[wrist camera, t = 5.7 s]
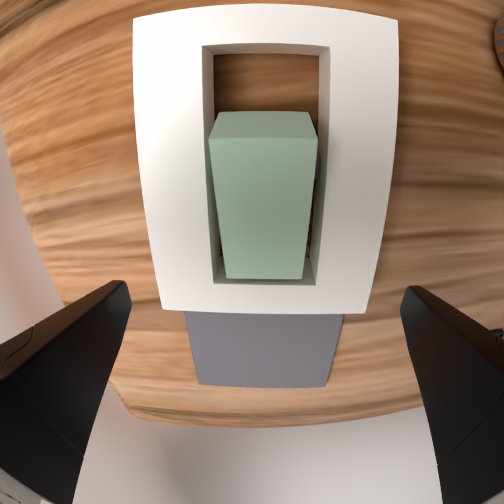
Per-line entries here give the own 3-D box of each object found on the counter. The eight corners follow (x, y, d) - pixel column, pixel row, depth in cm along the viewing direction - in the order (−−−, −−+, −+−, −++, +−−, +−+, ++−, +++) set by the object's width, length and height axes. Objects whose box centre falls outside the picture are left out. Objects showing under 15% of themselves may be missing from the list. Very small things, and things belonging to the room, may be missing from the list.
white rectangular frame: (376, 31, 12) (397, 20, 9) (353, 284, 20) (364, 313, 17) (155, 29, 12) (133, 18, 10) (175, 281, 20) (162, 309, 17)
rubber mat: (344, 296, 20) (346, 302, 20) (324, 381, 25) (325, 386, 24) (184, 293, 21) (182, 299, 20) (199, 379, 25) (198, 384, 25)
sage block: (308, 112, 12) (318, 139, 10) (298, 240, 18) (301, 279, 16) (219, 112, 13) (208, 139, 11) (231, 239, 18) (226, 278, 16)
